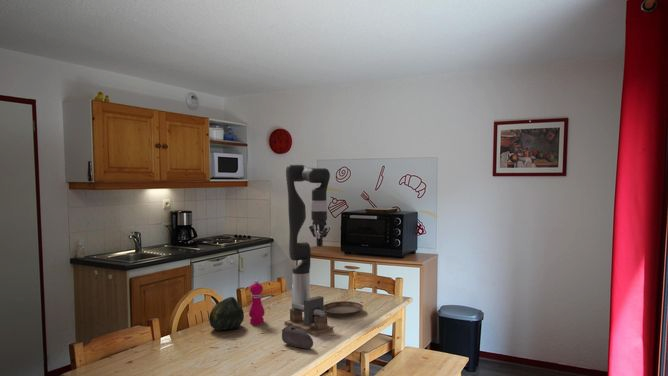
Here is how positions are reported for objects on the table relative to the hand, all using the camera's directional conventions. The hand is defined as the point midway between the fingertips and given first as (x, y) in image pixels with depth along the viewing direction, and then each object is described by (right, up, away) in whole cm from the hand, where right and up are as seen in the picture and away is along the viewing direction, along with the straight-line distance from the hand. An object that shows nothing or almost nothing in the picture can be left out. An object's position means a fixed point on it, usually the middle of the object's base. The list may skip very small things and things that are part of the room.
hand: (319, 246), depth 210 cm
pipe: (-5, -29, -12) cm, 32 cm away
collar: (-2, -32, -14) cm, 35 cm away
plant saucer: (+11, -35, +11) cm, 39 cm away
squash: (-42, -36, -11) cm, 56 cm away
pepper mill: (-29, -36, -3) cm, 46 cm away
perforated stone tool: (-7, -36, -34) cm, 50 cm away
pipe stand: (-5, -35, -11) cm, 37 cm away
